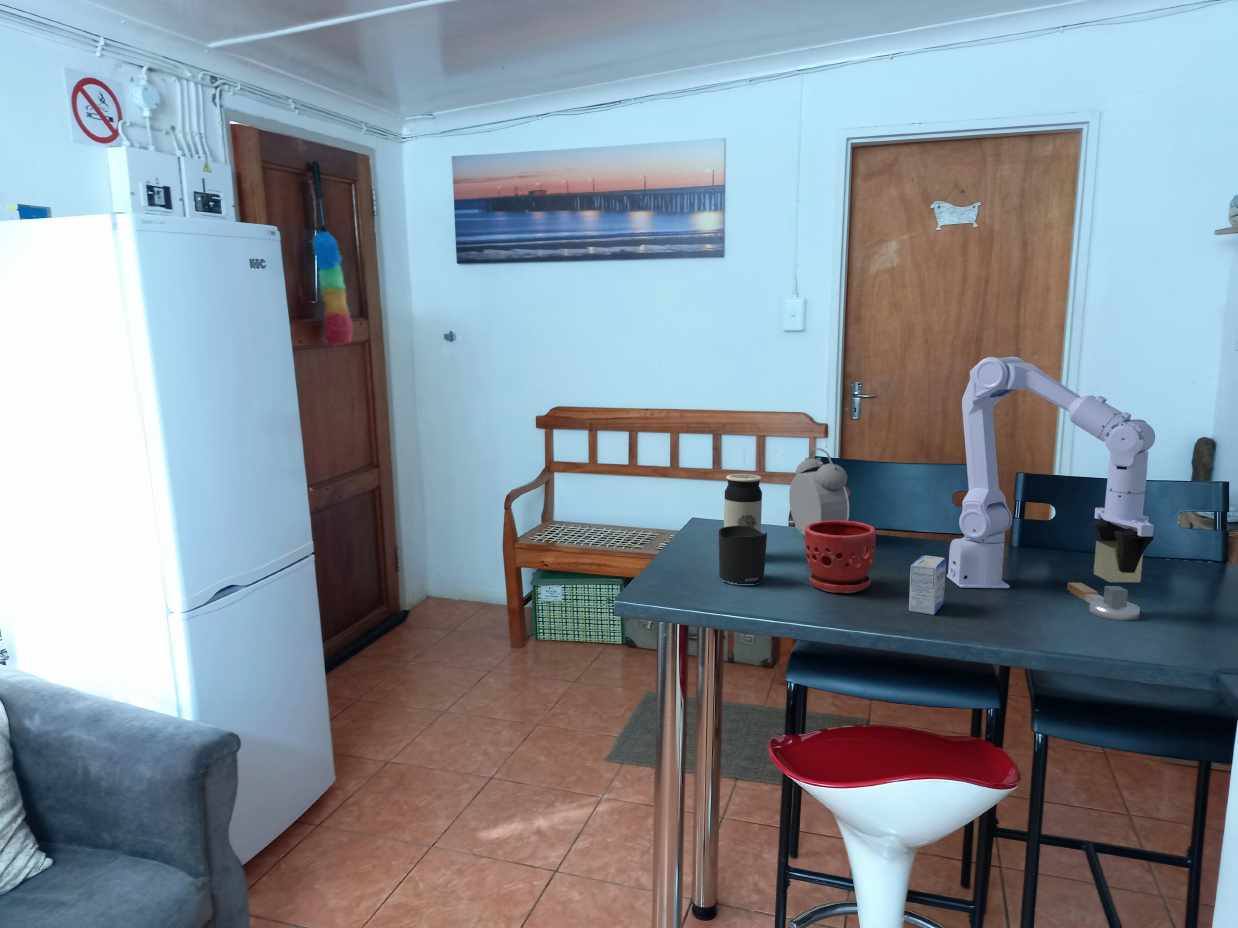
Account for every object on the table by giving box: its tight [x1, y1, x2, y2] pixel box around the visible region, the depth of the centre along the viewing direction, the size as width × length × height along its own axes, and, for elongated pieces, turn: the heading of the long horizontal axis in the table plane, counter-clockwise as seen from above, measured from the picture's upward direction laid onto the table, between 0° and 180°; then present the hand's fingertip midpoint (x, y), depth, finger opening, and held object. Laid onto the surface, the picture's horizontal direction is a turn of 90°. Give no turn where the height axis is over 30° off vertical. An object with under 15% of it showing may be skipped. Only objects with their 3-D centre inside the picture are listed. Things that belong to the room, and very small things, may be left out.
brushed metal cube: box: [1093, 540, 1144, 583], centre depth 148 cm, size 5×5×6 cm
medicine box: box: [908, 555, 947, 616], centre depth 152 cm, size 8×4×9 cm, turn 148°
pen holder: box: [718, 526, 768, 584], centre depth 168 cm, size 9×9×10 cm
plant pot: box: [804, 520, 877, 595], centre depth 164 cm, size 13×13×12 cm
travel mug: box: [723, 473, 763, 533], centre depth 185 cm, size 8×8×18 cm
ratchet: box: [1066, 582, 1141, 622], centre depth 155 cm, size 18×8×5 cm, turn 179°
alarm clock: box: [788, 447, 850, 537], centre depth 202 cm, size 16×9×22 cm, turn 17°
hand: (1118, 567), depth 149 cm, fingers closed on brushed metal cube, 5 cm apart
